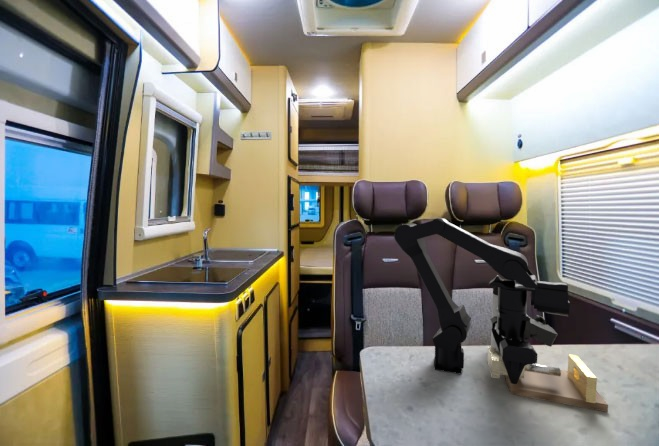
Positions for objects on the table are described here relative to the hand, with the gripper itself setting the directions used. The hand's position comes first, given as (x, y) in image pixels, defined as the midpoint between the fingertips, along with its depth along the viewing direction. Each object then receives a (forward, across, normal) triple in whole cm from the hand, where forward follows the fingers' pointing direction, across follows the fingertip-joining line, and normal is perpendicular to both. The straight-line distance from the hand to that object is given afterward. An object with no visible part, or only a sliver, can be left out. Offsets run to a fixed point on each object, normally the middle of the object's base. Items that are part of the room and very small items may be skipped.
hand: (509, 372), depth 71 cm
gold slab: (+1, 0, -14) cm, 14 cm away
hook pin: (0, 0, -3) cm, 3 cm away
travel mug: (+3, +16, -2) cm, 16 cm away
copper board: (+2, +2, -8) cm, 9 cm away
